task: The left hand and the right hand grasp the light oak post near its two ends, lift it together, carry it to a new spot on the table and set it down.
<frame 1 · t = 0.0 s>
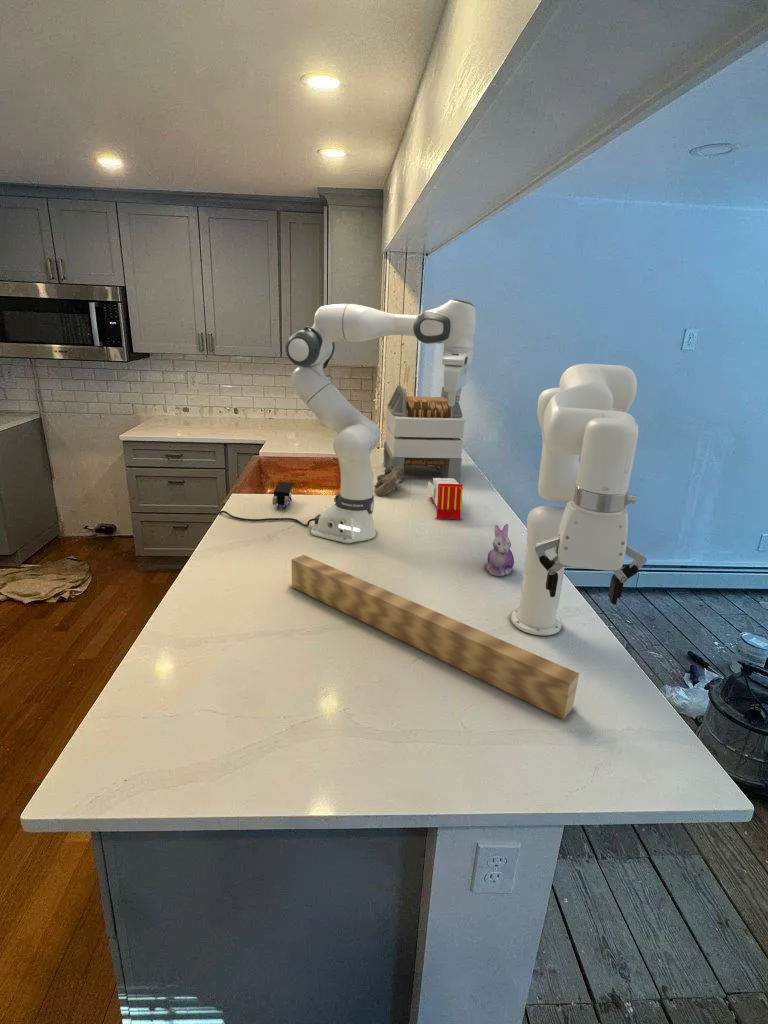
left hand: (454, 403, 174), 48 cm above the counter, tool pointing down, fingers open, 8 cm apart
right hand: (581, 596, 94), 31 cm above the counter, tool pointing down, fingers open, 9 cm apart
figurine character: (283, 505, 223), on the counter
toy: (443, 507, 229), on the counter
fossil: (388, 489, 248), on the counter
figurine: (499, 571, 175), on the counter
grey crate shelf: (419, 473, 275), on the counter
post: (409, 637, 137), on the counter
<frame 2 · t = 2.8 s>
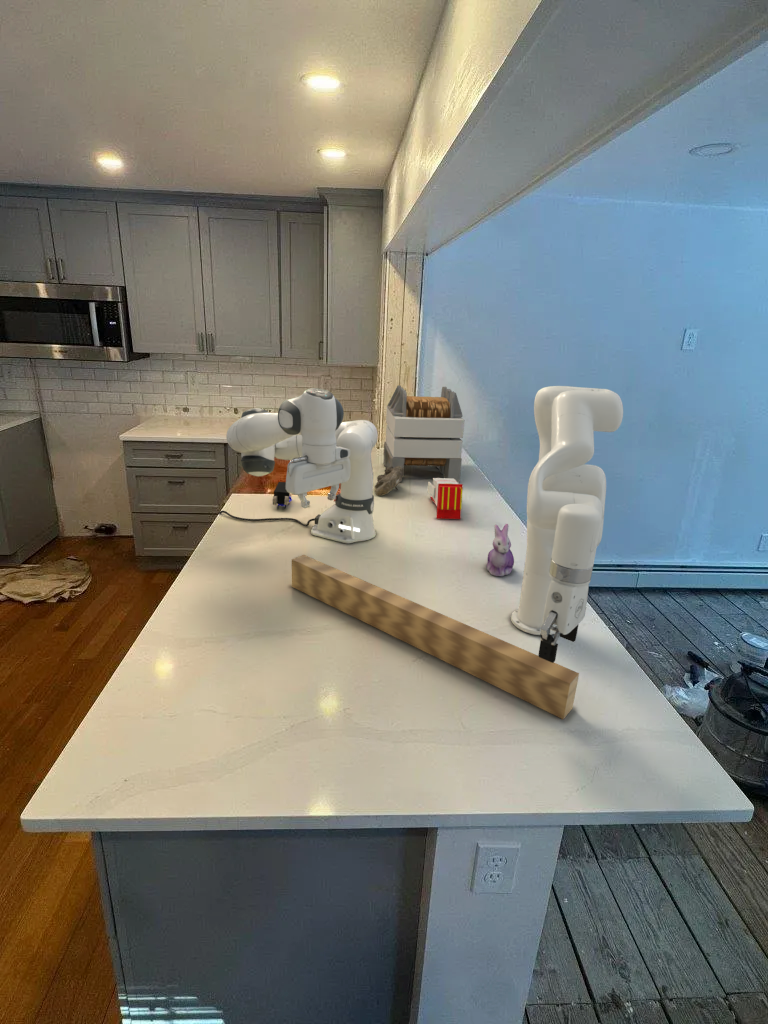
left hand: (318, 503, 152), 25 cm above the counter, tool pointing down, fingers open, 8 cm apart
right hand: (557, 648, 111), 13 cm above the counter, tool pointing down, fingers open, 9 cm apart
nothing on the counter moved.
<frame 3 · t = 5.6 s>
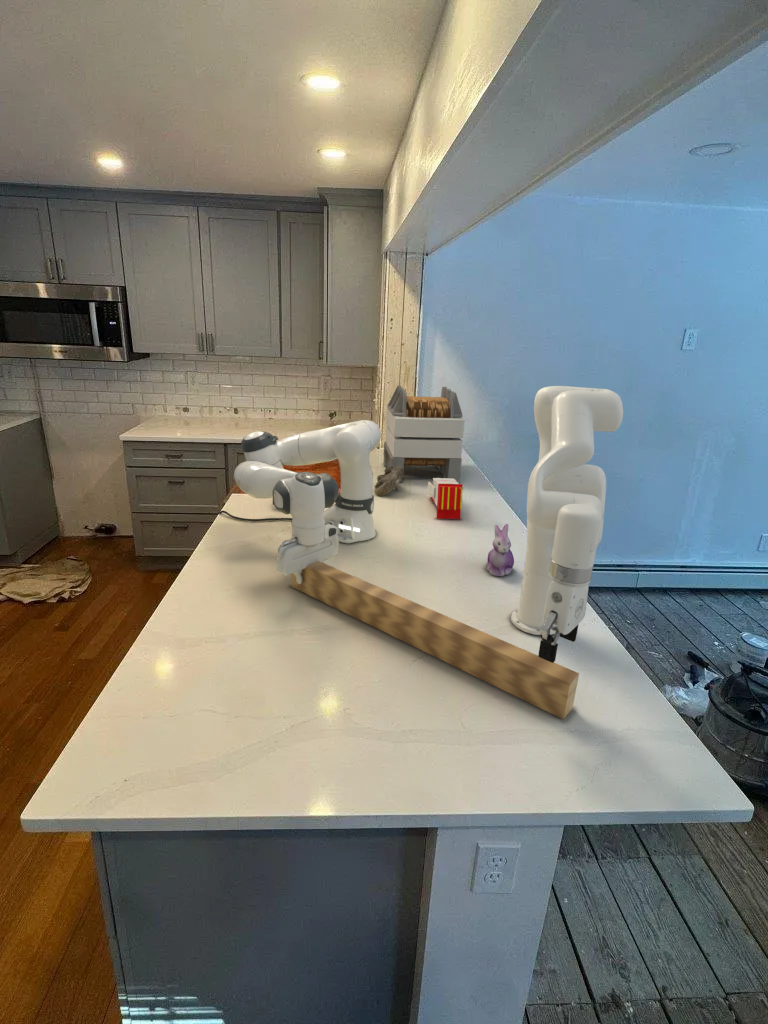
left hand: (308, 579, 157), 3 cm above the counter, tool pointing down, fingers closed on post, 4 cm apart
right hand: (557, 648, 111), 13 cm above the counter, tool pointing down, fingers open, 9 cm apart
post: (409, 637, 137), on the counter, touching left hand
everything else where it was.
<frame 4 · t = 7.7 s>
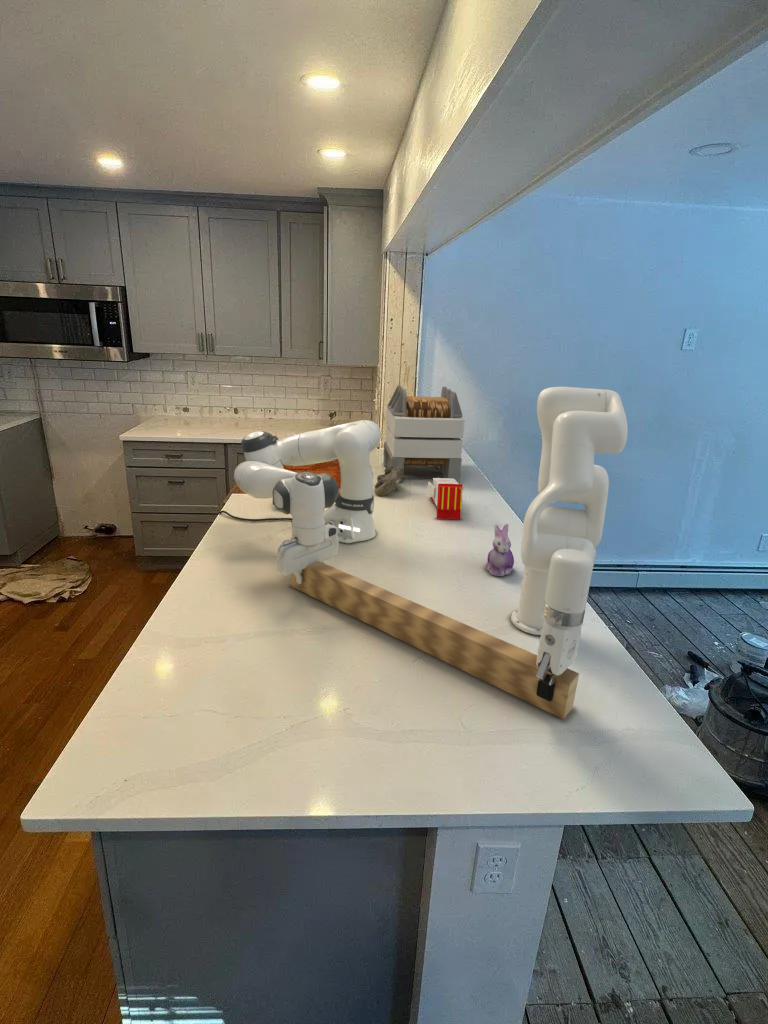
left hand: (308, 579, 157), 3 cm above the counter, tool pointing down, fingers closed on post, 4 cm apart
right hand: (550, 690, 115), 3 cm above the counter, tool pointing down, fingers closed on post, 4 cm apart
post: (409, 637, 137), on the counter, touching left hand, right hand
everything else where it was.
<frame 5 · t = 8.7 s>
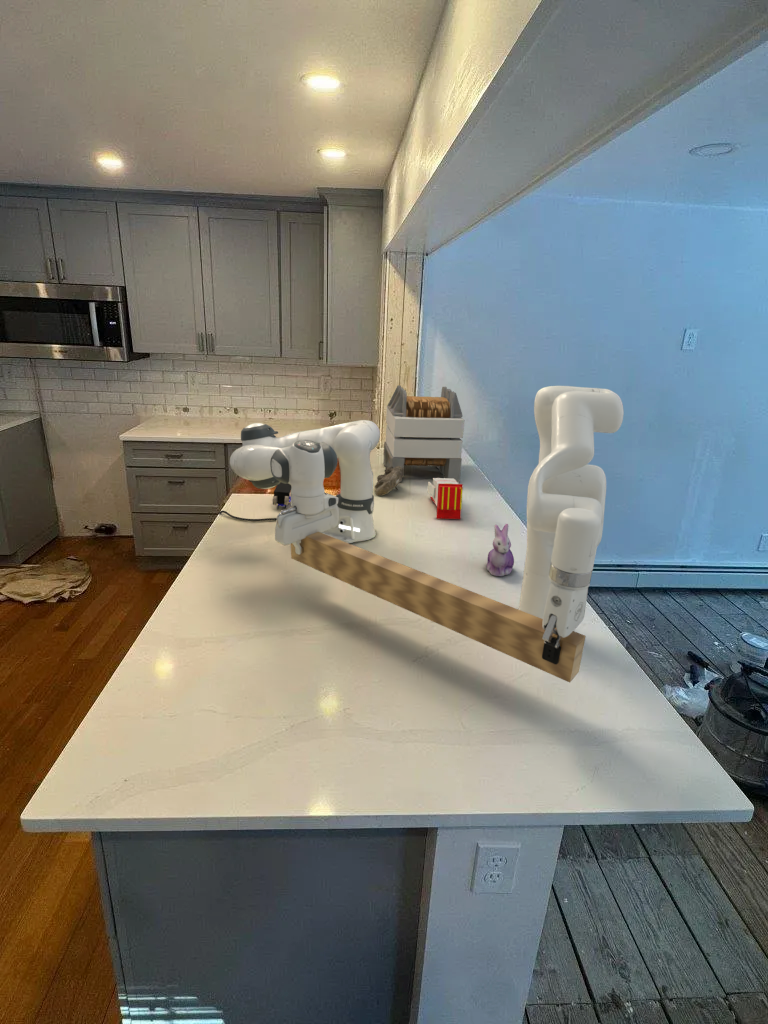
left hand: (307, 550, 155), 12 cm above the counter, tool pointing down, fingers closed on post, 4 cm apart
right hand: (555, 654, 113), 11 cm above the counter, tool pointing down, fingers closed on post, 4 cm apart
post: (411, 605, 135), point 8 cm above the counter, touching left hand, right hand
everything else where it was.
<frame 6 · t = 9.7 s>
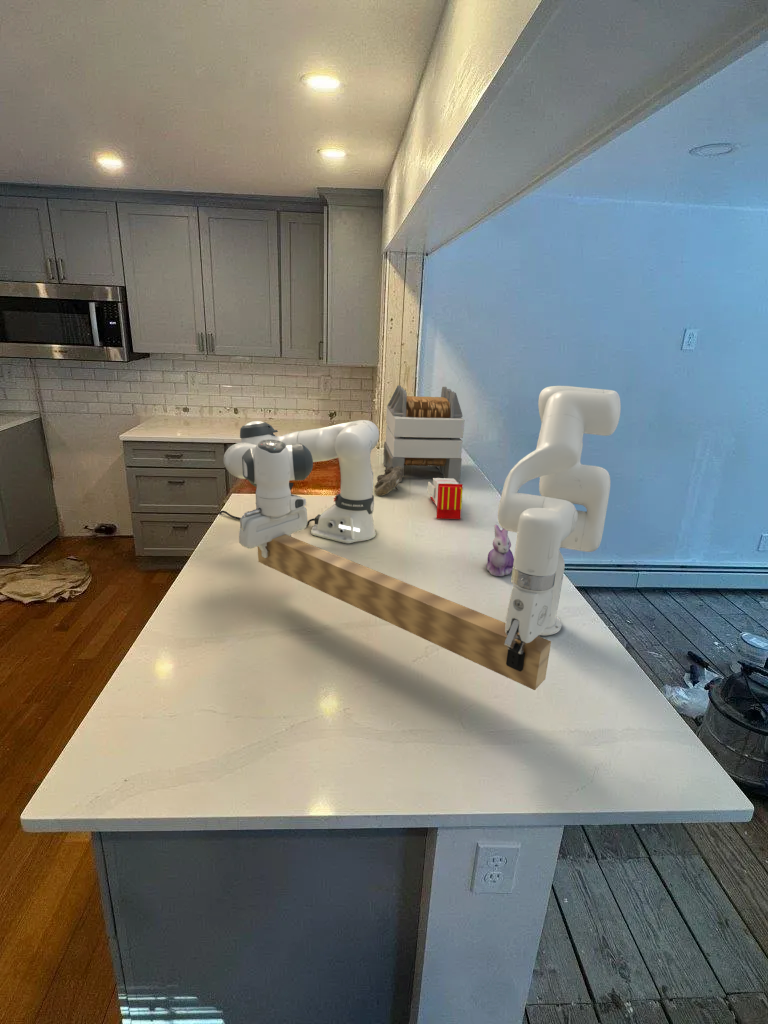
left hand: (275, 553, 150), 12 cm above the counter, tool pointing down, fingers closed on post, 4 cm apart
right hand: (520, 660, 108), 12 cm above the counter, tool pointing down, fingers closed on post, 4 cm apart
post: (377, 610, 130), point 9 cm above the counter, touching left hand, right hand
everything else where it was.
when the left hand's fingers open (5 cm above the counter, at t = 11.9 s): post drops 1 cm, on the counter.
when the right hand's fingers open (5 cm above the counter, at t = 11.9 s): post drops 1 cm, on the counter.
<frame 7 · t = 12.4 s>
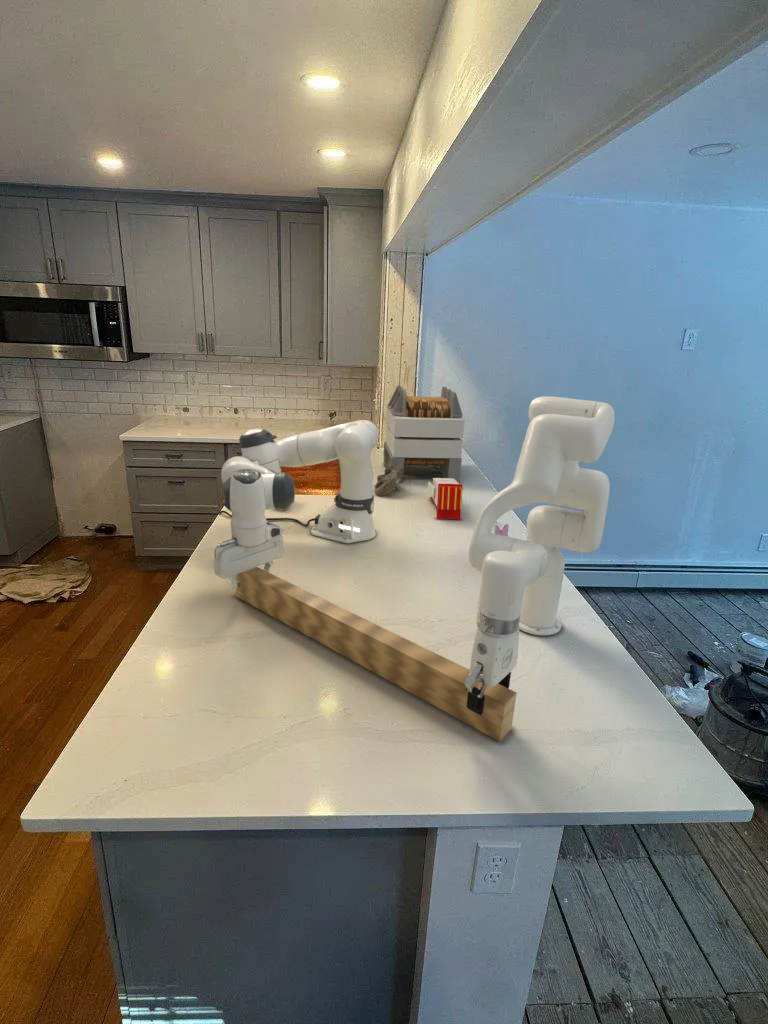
left hand: (251, 581, 150), 5 cm above the counter, tool pointing down, fingers open, 8 cm apart
right hand: (488, 698, 107), 6 cm above the counter, tool pointing down, fingers open, 9 cm apart
post: (350, 651, 130), on the counter
everything else where it was.
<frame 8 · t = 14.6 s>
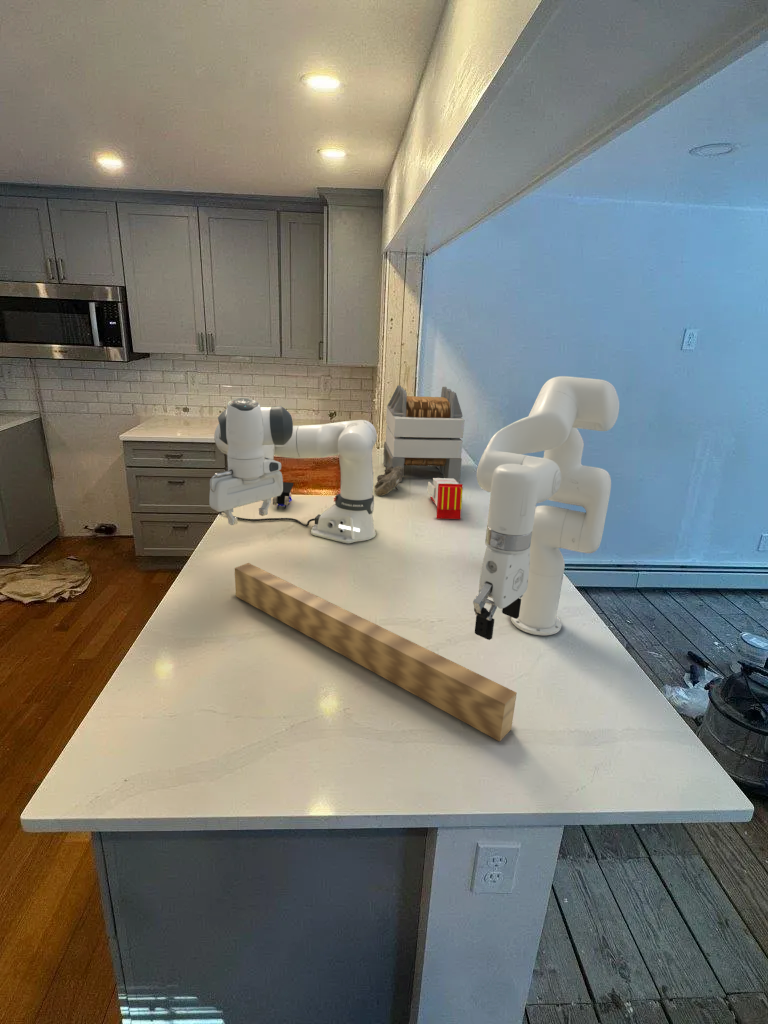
left hand: (248, 519, 144), 23 cm above the counter, tool pointing down, fingers open, 8 cm apart
right hand: (497, 625, 102), 22 cm above the counter, tool pointing down, fingers open, 9 cm apart
nothing on the counter moved.
at the end: post inside the target area (0.3 cm from its centre), on the counter; post tilted 0°; post never tilted more than 2° during the clip; both hands held the post at the same time; the left hand is holding nothing; the right hand is holding nothing; post at rest at the end (0.0 cm/s) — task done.
